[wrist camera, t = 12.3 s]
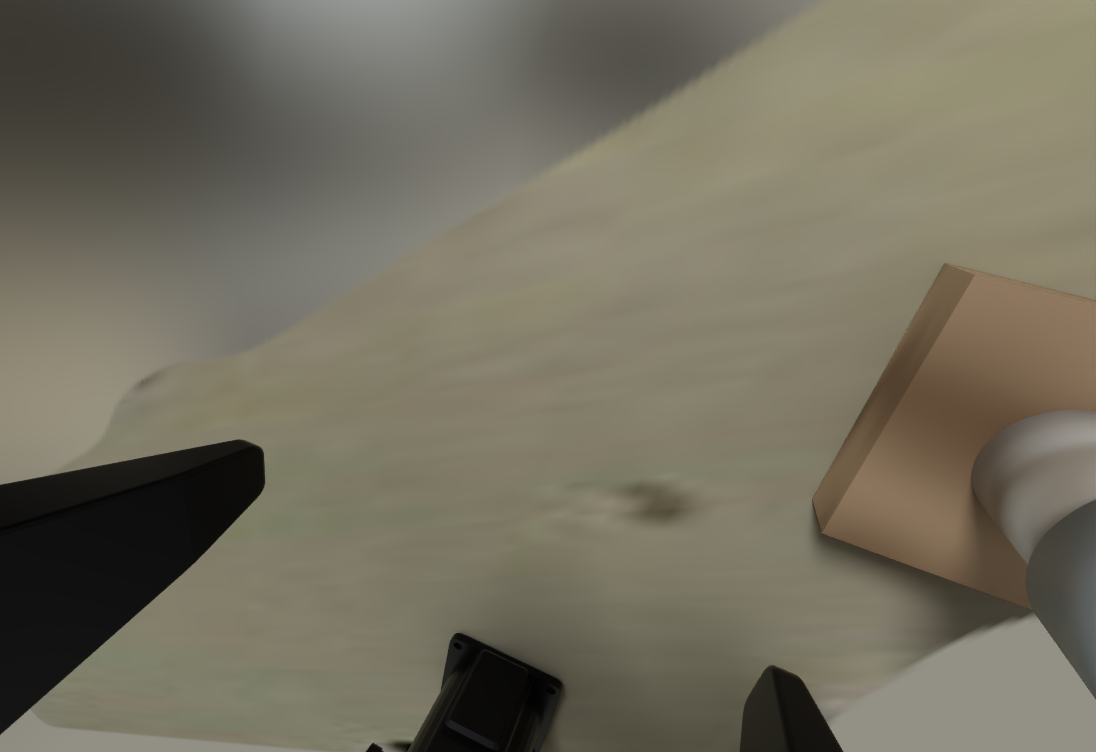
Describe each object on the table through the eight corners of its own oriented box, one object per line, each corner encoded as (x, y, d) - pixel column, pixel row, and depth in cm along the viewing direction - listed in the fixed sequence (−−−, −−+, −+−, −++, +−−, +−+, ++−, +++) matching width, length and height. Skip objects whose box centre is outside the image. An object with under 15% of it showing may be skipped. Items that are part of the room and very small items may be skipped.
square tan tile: (1089, 597, 17) (1266, 800, 11) (812, 499, 18) (849, 632, 13) (1323, 357, 13) (1764, 489, 7) (944, 263, 15) (1074, 314, 9)
